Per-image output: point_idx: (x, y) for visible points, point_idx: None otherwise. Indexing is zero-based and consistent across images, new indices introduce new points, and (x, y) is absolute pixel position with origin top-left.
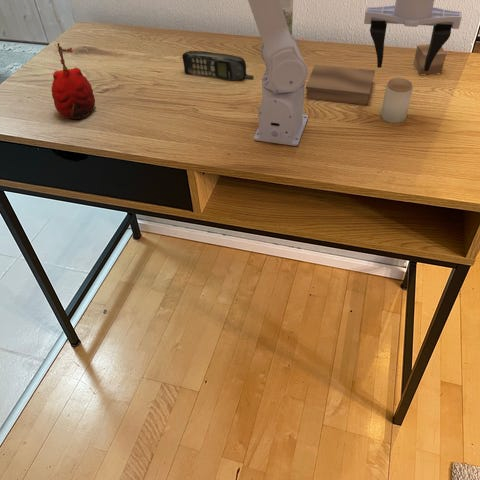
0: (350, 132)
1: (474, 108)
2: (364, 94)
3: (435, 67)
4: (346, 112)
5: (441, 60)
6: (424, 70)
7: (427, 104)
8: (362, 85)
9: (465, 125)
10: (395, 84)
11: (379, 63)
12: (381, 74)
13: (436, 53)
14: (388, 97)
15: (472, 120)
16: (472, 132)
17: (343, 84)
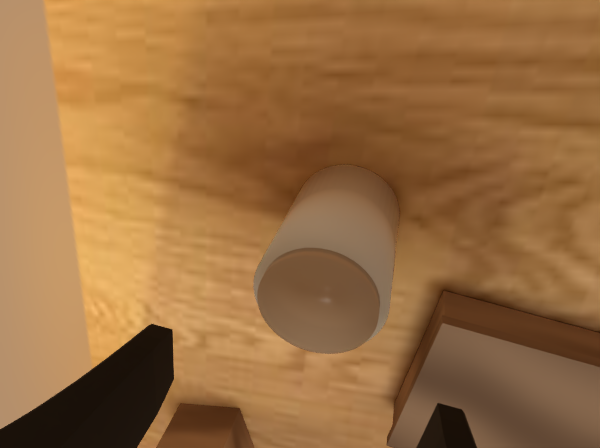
0: (583, 90)
1: (77, 237)
2: (463, 324)
3: (189, 424)
4: (549, 250)
5: (167, 443)
6: (169, 331)
7: (219, 271)
8: (459, 376)
9: (92, 141)
10: (341, 303)
11: (459, 433)
12: (354, 433)
13: (30, 413)
14: (380, 245)
15: (75, 171)
16: (65, 95)
17: (545, 395)
